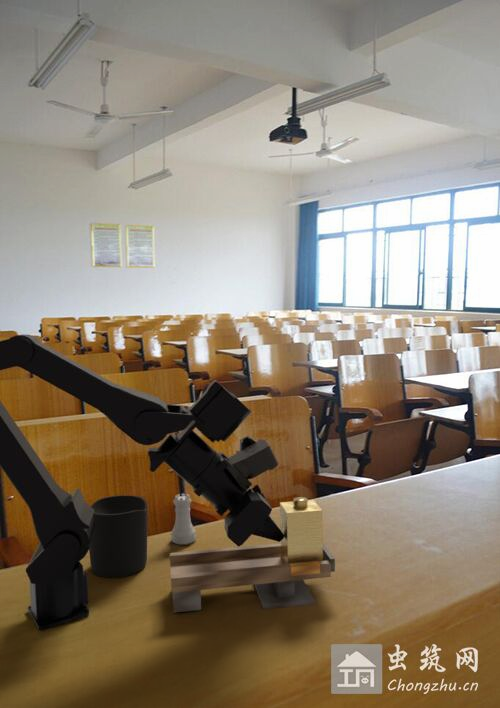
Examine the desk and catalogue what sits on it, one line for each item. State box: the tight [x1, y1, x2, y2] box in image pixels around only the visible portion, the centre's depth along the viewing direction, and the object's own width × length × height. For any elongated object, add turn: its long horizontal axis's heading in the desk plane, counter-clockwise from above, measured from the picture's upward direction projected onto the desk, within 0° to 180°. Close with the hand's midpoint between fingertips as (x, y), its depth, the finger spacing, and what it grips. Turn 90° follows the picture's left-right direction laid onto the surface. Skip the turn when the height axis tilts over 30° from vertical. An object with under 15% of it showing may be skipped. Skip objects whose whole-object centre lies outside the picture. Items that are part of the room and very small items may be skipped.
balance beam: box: [169, 542, 336, 613], centre depth 80 cm, size 22×9×6 cm, turn 99°
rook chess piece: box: [170, 493, 197, 546], centre depth 100 cm, size 4×4×8 cm
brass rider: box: [279, 496, 324, 564], centre depth 81 cm, size 5×5×9 cm
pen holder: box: [88, 494, 148, 579], centre depth 90 cm, size 9×9×10 cm
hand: (282, 538), depth 80 cm, fingers closed, pressing on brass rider
